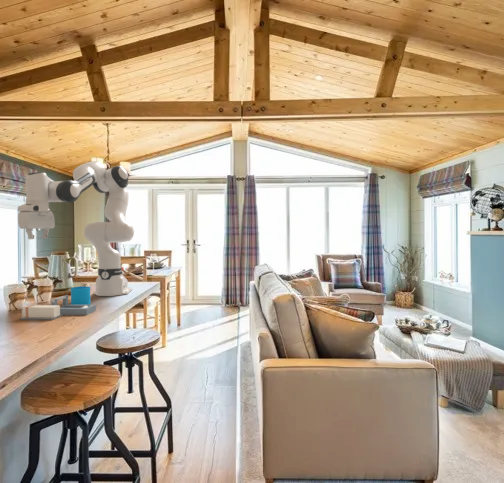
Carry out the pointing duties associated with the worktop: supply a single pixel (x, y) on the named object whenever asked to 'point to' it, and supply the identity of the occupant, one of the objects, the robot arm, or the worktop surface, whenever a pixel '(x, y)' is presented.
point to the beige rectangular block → (41, 311)
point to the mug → (80, 295)
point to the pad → (38, 318)
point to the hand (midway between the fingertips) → (38, 238)
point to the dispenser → (73, 307)
